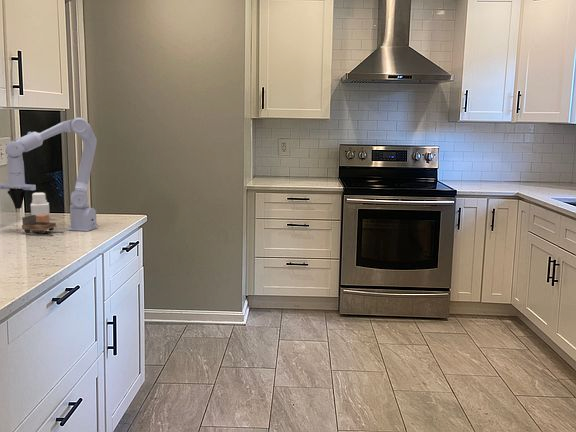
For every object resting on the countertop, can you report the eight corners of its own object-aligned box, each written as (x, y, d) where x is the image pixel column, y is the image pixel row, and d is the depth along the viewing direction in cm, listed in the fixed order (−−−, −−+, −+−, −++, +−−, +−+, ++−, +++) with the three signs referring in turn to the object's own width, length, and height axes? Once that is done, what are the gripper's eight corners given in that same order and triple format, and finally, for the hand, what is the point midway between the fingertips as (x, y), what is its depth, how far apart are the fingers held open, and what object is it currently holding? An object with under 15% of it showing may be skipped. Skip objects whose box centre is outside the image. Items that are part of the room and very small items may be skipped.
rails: (63, 232, 222) (63, 231, 222) (52, 236, 215) (52, 235, 215) (33, 230, 225) (33, 229, 225) (22, 234, 218) (21, 233, 218)
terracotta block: (49, 226, 234) (48, 214, 233) (42, 228, 230) (42, 216, 229) (40, 226, 235) (39, 214, 234) (33, 228, 231) (32, 215, 230)
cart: (56, 230, 223) (55, 215, 222) (43, 234, 215) (42, 219, 215) (35, 229, 225) (34, 214, 224) (22, 232, 217) (21, 217, 216)
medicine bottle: (32, 218, 251) (30, 191, 249) (49, 218, 254) (48, 191, 252) (31, 221, 245) (29, 193, 243) (49, 220, 247) (47, 193, 245)
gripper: (39, 172, 221) (41, 207, 223) (5, 171, 223) (8, 206, 226) (28, 174, 214) (30, 210, 216) (-7, 173, 217) (-4, 208, 219)
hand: (18, 208), depth 221 cm, fingers closed
